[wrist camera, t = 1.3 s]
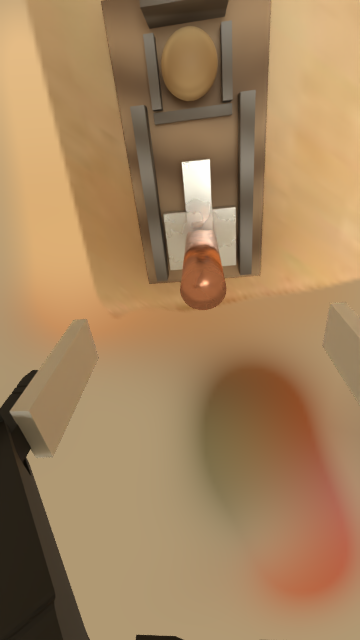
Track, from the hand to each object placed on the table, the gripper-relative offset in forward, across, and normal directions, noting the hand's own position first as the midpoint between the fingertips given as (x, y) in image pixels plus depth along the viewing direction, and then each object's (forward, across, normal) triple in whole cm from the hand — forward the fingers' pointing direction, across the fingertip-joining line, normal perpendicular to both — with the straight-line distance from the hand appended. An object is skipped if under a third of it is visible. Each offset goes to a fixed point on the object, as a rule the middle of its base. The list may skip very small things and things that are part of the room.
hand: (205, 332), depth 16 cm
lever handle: (+18, 0, +3) cm, 19 cm away
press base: (+20, 0, +7) cm, 21 cm away
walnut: (+18, 0, +14) cm, 23 cm away
